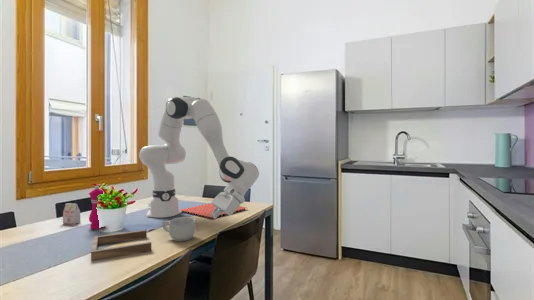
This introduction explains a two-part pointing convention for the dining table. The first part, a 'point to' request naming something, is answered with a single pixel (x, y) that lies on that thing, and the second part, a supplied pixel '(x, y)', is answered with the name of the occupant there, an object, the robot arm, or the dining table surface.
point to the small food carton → (71, 214)
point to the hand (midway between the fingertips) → (212, 217)
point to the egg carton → (205, 210)
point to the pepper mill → (94, 208)
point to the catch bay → (119, 250)
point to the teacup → (181, 228)
